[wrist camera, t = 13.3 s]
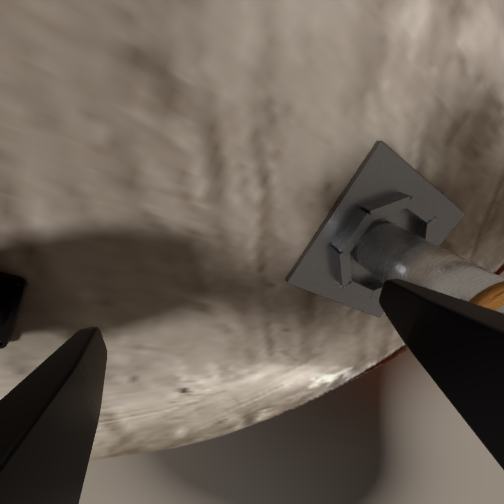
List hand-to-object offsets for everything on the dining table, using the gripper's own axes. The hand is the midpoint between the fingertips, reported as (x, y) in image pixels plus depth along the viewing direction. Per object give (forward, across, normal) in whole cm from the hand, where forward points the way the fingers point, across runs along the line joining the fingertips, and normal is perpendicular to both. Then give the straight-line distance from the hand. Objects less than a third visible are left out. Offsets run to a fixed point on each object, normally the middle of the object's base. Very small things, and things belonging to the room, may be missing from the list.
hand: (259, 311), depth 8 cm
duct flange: (+13, -16, +6) cm, 22 cm away
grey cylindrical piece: (+13, -16, +6) cm, 21 cm away
